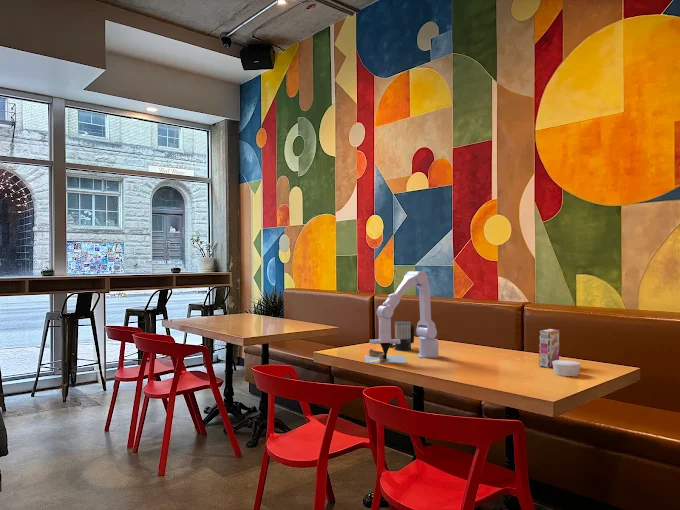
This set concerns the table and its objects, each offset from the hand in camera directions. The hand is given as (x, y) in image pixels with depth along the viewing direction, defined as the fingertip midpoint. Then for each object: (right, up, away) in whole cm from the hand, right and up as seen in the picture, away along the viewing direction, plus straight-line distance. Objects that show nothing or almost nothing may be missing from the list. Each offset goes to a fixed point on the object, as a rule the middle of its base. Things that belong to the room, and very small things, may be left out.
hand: (385, 358), depth 249 cm
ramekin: (+75, -1, -28) cm, 80 cm away
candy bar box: (+75, -1, -10) cm, 76 cm away
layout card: (0, -1, +6) cm, 6 cm away
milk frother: (+11, -2, +38) cm, 39 cm away
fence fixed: (-3, -1, +10) cm, 11 cm away
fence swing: (-1, -1, +1) cm, 2 cm away
